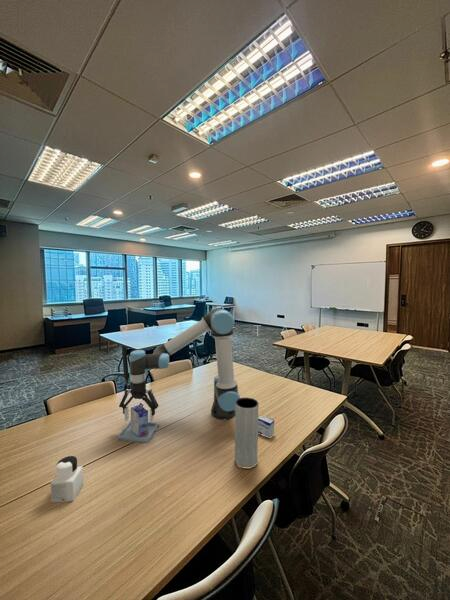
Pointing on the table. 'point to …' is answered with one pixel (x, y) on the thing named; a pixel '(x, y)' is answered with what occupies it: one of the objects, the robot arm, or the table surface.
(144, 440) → the tray
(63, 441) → the table surface
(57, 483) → the container
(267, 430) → the box
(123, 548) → the table surface
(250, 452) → the vase
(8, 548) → the table surface
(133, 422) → the ink cartridge box
